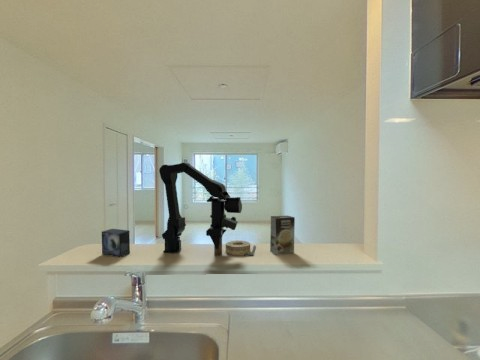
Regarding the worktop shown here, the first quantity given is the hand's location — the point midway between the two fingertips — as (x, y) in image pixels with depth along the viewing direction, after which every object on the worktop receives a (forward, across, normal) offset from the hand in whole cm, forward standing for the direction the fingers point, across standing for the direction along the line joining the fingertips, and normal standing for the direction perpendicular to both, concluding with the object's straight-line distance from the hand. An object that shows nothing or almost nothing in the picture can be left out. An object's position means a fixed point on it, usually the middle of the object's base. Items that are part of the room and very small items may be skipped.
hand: (218, 247), depth 124 cm
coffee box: (+3, +7, -28) cm, 29 cm away
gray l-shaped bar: (+3, +7, -13) cm, 15 cm away
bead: (+3, +6, -8) cm, 10 cm away
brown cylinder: (+3, 0, 0) cm, 3 cm away
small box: (+3, -5, +45) cm, 45 cm away
